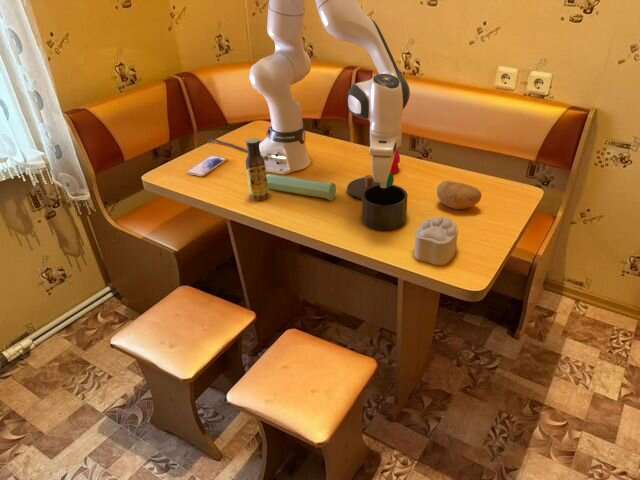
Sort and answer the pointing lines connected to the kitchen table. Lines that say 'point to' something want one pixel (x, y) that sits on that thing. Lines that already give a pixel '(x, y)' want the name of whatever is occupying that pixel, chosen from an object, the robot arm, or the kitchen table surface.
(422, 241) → the lumpy-topped squat cylinder
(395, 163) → the pepper mill
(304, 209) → the kitchen table surface
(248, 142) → the sauce bottle
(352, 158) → the kitchen table surface
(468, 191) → the potato
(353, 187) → the pot lid
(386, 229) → the pot
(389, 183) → the ball
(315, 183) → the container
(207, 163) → the smartphone
